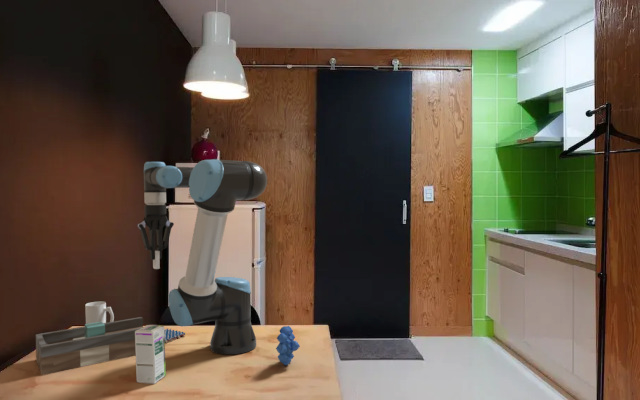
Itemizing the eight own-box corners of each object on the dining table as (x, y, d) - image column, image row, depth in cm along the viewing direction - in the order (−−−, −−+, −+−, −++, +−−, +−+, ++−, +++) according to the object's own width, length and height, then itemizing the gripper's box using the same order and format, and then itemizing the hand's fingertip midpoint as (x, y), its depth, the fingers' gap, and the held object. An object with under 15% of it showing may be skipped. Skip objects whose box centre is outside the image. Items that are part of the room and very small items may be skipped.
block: (105, 340, 146) (104, 325, 146) (87, 343, 144) (87, 327, 143) (101, 336, 151) (101, 321, 150) (85, 339, 148) (84, 324, 147)
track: (155, 350, 151) (154, 326, 151) (41, 375, 132) (41, 347, 132) (141, 339, 163) (141, 316, 163) (36, 359, 144) (35, 334, 144)
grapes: (294, 373, 131) (293, 331, 131) (271, 371, 133) (271, 330, 133) (305, 359, 143) (304, 320, 142) (284, 357, 144) (284, 319, 144)
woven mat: (142, 341, 163) (142, 335, 163) (166, 333, 172) (166, 327, 172) (163, 346, 157) (163, 340, 157) (186, 337, 166) (186, 332, 166)
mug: (81, 339, 164) (81, 305, 163) (92, 333, 170) (92, 301, 170) (108, 340, 163) (108, 306, 163) (118, 334, 170) (118, 301, 169)
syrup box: (155, 384, 125) (154, 331, 125) (135, 382, 126) (134, 330, 126) (166, 376, 130) (165, 325, 130) (147, 374, 132) (146, 324, 131)
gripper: (168, 203, 176) (169, 265, 176) (133, 204, 168) (134, 269, 168) (176, 203, 170) (177, 267, 171) (140, 204, 162) (141, 271, 162)
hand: (156, 268), depth 169 cm, fingers closed
